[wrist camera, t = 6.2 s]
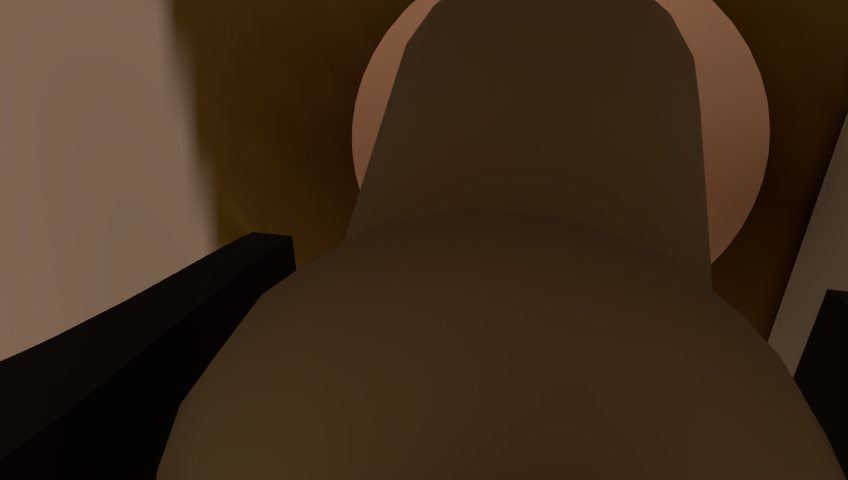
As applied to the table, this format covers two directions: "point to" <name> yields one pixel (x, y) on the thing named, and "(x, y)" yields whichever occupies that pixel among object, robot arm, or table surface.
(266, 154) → the table surface
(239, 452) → the brown tapered cylinder
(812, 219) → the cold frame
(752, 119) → the peach flat disc
